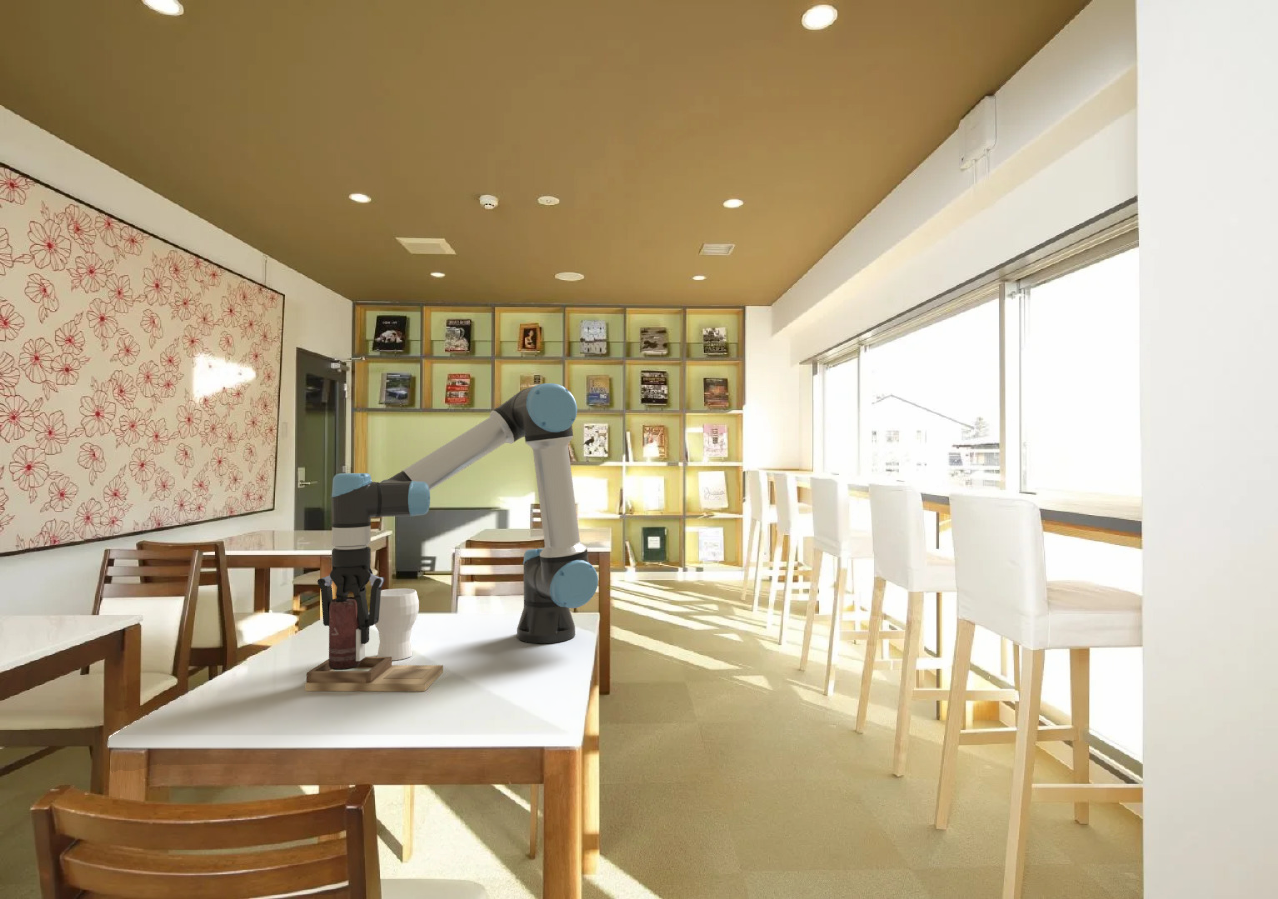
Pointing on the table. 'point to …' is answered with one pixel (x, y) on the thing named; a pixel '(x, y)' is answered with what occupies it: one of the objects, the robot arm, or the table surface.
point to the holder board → (373, 676)
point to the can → (343, 634)
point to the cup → (396, 622)
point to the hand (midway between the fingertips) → (351, 659)
